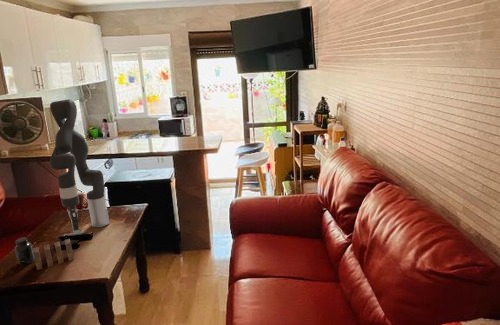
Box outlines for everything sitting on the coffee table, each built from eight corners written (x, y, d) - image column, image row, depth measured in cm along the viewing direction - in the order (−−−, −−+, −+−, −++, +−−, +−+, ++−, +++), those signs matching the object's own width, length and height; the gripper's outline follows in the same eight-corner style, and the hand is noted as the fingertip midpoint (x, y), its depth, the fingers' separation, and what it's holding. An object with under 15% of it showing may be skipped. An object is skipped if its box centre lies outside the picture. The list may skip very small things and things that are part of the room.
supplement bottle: (23, 258, 179) (17, 236, 175) (37, 257, 179) (32, 235, 176) (15, 266, 172) (9, 243, 169) (30, 265, 173) (25, 242, 169)
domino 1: (41, 263, 173) (38, 247, 171) (42, 268, 169) (38, 251, 167) (36, 265, 172) (32, 248, 170) (37, 270, 168) (33, 253, 166)
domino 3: (62, 257, 178) (59, 241, 175) (63, 262, 174) (60, 245, 171) (57, 259, 177) (54, 242, 174) (58, 263, 173) (55, 247, 170)
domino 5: (77, 228, 179) (74, 212, 176) (79, 232, 174) (76, 215, 172) (73, 230, 177) (69, 213, 175) (74, 233, 173) (71, 216, 171)
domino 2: (52, 260, 176) (48, 244, 173) (53, 265, 172) (49, 248, 169) (47, 262, 175) (43, 245, 172) (48, 267, 170) (44, 250, 168)
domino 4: (72, 255, 180) (69, 238, 178) (74, 259, 176) (70, 242, 173) (67, 256, 179) (64, 240, 176) (69, 260, 175) (65, 244, 172)
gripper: (80, 197, 167) (86, 231, 172) (75, 189, 178) (81, 220, 183) (62, 201, 163) (68, 235, 168) (58, 192, 175) (65, 224, 179)
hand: (75, 227), depth 175 cm, fingers closed on domino 5, 5 cm apart
